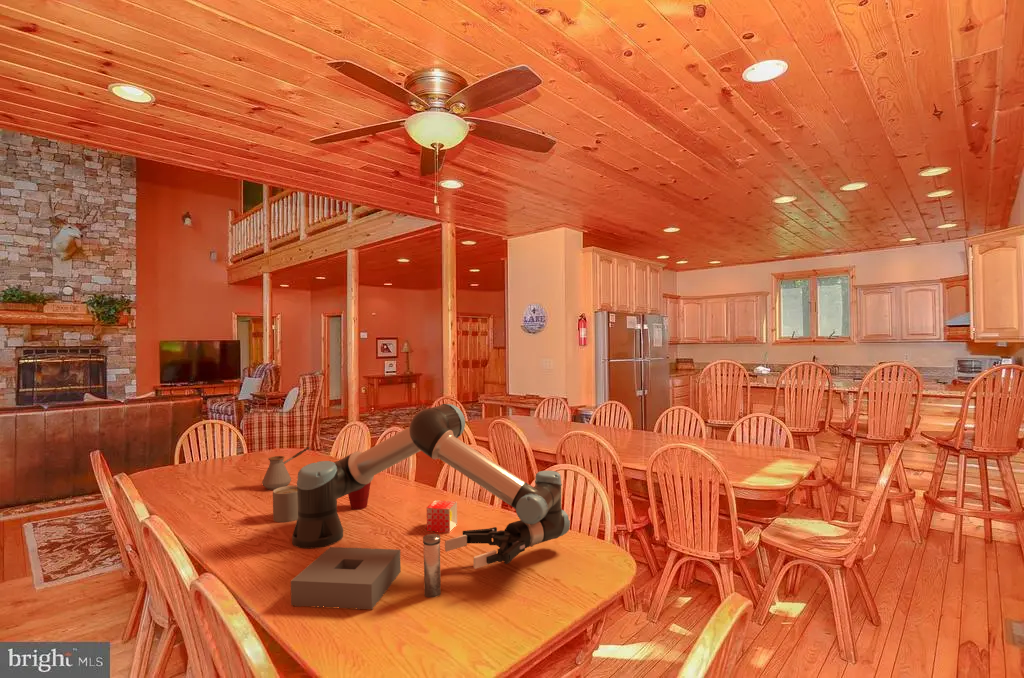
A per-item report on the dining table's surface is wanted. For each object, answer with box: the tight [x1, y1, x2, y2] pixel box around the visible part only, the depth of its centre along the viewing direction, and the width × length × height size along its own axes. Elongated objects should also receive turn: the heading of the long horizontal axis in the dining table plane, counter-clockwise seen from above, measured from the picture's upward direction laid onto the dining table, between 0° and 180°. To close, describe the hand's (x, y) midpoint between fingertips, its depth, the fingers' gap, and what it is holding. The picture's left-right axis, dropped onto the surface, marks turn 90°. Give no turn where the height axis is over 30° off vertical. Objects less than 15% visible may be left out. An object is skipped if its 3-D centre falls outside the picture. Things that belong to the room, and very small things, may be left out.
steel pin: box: [422, 533, 442, 599], centre depth 129 cm, size 4×4×14 cm
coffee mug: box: [272, 485, 298, 523], centre depth 188 cm, size 13×10×10 cm
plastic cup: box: [347, 481, 372, 511], centre depth 196 cm, size 11×11×12 cm
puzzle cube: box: [426, 499, 458, 534], centre depth 174 cm, size 8×8×8 cm
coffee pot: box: [261, 446, 312, 491], centre depth 228 cm, size 21×12×15 cm, turn 139°
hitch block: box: [290, 546, 402, 610], centre depth 133 cm, size 20×20×6 cm
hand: (459, 554), depth 133 cm, fingers open, 13 cm apart
